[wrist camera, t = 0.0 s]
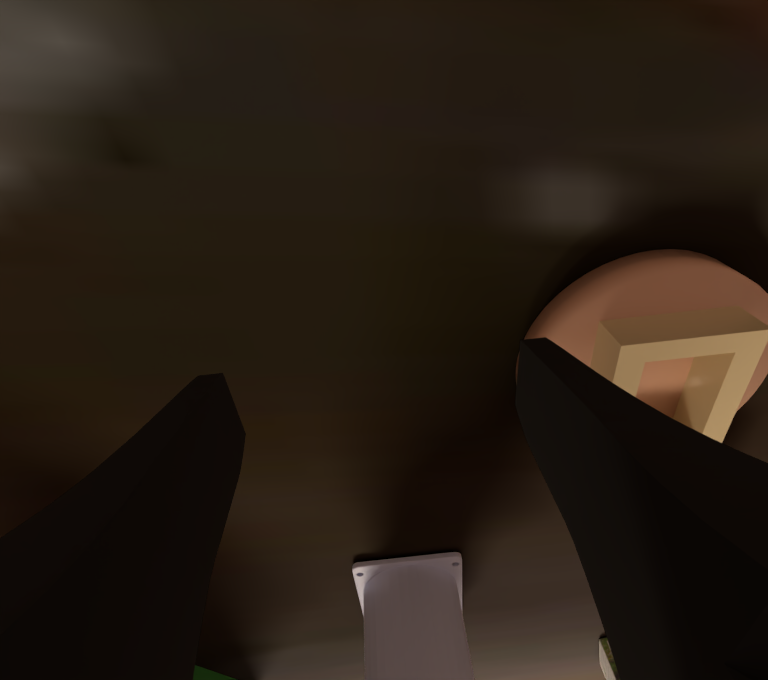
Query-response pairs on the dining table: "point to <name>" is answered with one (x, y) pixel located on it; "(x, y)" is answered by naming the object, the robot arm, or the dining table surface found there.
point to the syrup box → (607, 660)
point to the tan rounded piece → (667, 333)
